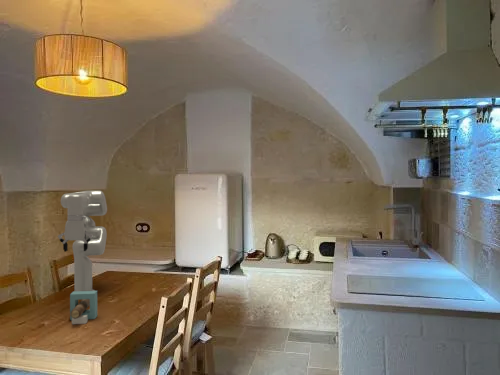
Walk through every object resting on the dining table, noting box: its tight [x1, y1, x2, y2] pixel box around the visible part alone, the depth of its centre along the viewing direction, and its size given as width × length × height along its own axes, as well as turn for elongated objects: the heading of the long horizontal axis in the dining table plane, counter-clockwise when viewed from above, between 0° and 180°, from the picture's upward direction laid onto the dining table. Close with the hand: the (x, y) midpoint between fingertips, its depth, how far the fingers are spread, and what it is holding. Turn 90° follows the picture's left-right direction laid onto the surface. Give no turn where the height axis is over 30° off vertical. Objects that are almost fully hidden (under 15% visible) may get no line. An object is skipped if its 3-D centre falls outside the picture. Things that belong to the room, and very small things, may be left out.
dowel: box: [71, 299, 90, 319], centre depth 188 cm, size 22×4×4 cm, turn 8°
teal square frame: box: [69, 290, 98, 321], centre depth 190 cm, size 5×11×12 cm, turn 98°
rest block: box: [71, 315, 89, 325], centre depth 183 cm, size 3×6×3 cm, turn 97°
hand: (75, 251), depth 210 cm, fingers open, 9 cm apart
